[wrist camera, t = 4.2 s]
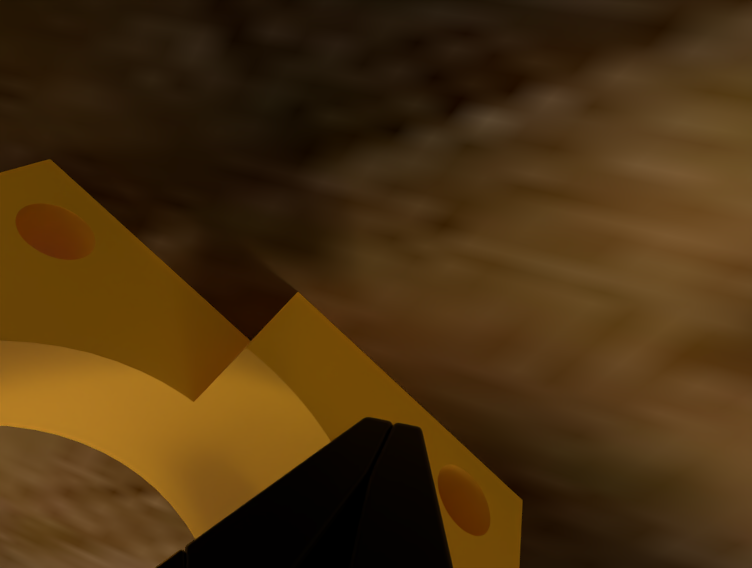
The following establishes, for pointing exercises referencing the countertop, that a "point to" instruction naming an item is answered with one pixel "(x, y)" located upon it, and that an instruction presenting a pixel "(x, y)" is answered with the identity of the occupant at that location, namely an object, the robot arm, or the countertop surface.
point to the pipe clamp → (196, 374)
